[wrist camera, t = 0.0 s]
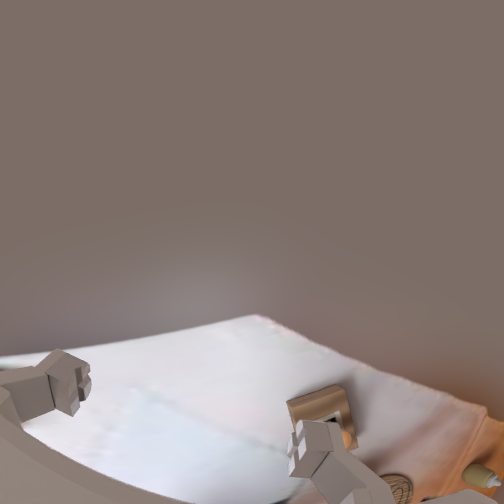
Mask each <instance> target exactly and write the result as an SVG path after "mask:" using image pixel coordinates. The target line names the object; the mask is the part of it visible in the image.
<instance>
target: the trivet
mask: <svg viewBox="0 0 504 504" xmlns="http://www.w3.org/2000/svg"><path fill="white" fill-rule="evenodd" d="M380 478H381V479H383V480H384V481H385V482H386V483H388V484H389V485H390V488H391V491H392V494H393V497H394V500H395V503H396V504H410V502H411V499H412V495H413V490H412V485H411V483H410V482H409V481H408V480H407V479H405V478H404V477H402V476H400V475H395V474H390V475H383V476H380Z"/></svg>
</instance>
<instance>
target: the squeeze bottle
mask: <svg viewBox="0 0 504 504" xmlns="http://www.w3.org/2000/svg"><path fill="white" fill-rule="evenodd" d="M462 478H463V479H464V481H465V482H466V484H470V485H473V486H477V487H480V488H486V487H488V488H491V487H493V486H501V484H502V483H501V482H500V481H499V480H498V476H497V475H495V472H494V471H492V470H490V469H489V468H487V467H485V466H483V465H481V464H471V465H469V466H468V467H467V468H466V469H465V470H464V472H463V474H462Z"/></svg>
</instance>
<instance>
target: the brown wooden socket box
mask: <svg viewBox="0 0 504 504" xmlns="http://www.w3.org/2000/svg"><path fill="white" fill-rule="evenodd" d="M286 403H287V406H288V410H289V413H290V417H291V420H292V423H293V427H294V430H295V431H296V424H297V423H298V421H299V420H309V421H320V422H323V421H326V420H330V421H331V422H336V423H338V424H339V426H340V429H342V430H345V431H347V432H348V433H349V434H350V435H351V437H352V441H351V444H350V446H349V447H348V448H347V449H346V451H347V452H349V451H351V450H354V449H356V448H358V443H357V439H356V434H355V430H354V426H353V421H352V417H351V413H350V409H349V405H348V401H347V397H346V393H345V389H344V388H342V387H340V386H338V385H335V384H334V385H332V386H329V387H326V388H324V389H321V390H318V391H316V392H313V393H310V394H307V395H305V396H302V397H299V398H296V399H293V400H290V401H287V402H286Z"/></svg>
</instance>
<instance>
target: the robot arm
mask: <svg viewBox="0 0 504 504" xmlns="http://www.w3.org/2000/svg"><path fill="white" fill-rule="evenodd" d="M89 372H90V365H89V364H88V363H87V362H85V361H83V360H81V359H79V358H77V357H75V356H72V355H70V354H68V353H66V352H64V351H62V350H60V349H55V350H54V351H53V352H51V353H50V354H49V355H48V356H47V357H46V358H45V359H43V360H42V361H41V362H40V363H39V364H38V365H37V366H36V367H33V366H29V367H24V368H18V369H13V370H7V371H1V372H0V504H194V503H189V502H185V501H181V500H177V499H174V498H170V497H166V496H163V495H160V494H156V493H153V492H150V491H147V490H144V489H141V488H138V487H135V486H132V485H130V484H127V483H124V482H122V481H119V480H117V479H114V478H112V477H109V476H107V475H104V474H102V473H100V472H98V471H95V470H93V469H91V468H89V467H87V466H85V465H83V464H81V463H79V462H77V461H75V460H73V459H71V458H69V457H67V456H65V455H63V454H61V453H60V452H58V451H56V450H54V449H53V448H51V447H49V446H47V445H46V444H44V443H42V442H41V441H39V440H38V439H36V438H34V437H33V436H31V435H30V434H28V433H27V432H25V431H24V429H23V427H22V424H21V423H22V422H25V421H27V420H30V419H33V418H35V417H38V416H40V415H43V414H45V413H47V412H50V411H52V410H55V408H56V409H58V410H60V411H62V412H64V413H66V414H68V415H70V416H72V417H73V416H74V414H75V413H76V412H77V410H78V409H79V408H80V403H79V402H81V401H84V400H86V398H87V397H88V396H89V393H90V390H91V379H90V377H89V376H88V373H89ZM287 455H288V456H289V457H290V458H291V460H290V461H289V463H288V469H289V477H299V478H311V479H310V480H311V481H312V482H313V484H314V485H315V486H316V487H317V489H318V490H319V491H320V493H321V494H322V495H323V496H324V498H325V499H326V500H327V501H328V502H329V504H396V503H395V500H394V497H393V494H392V491H391V488H390V485H389V484H388V483H386V482H385V481H384V480H383V479H381V478H380V477H379V476H378V475H376V474H375V473H374V472H373V471H372V470H370V469H369V468H368V467H367V466H366V465H365V464H363V463H362V462H361V461H360V460H359V459H357V458H356V457H355V456H354V455H353V454H352V453H351V452H347V451H346V447H345V444H344V440H343V437H342V433H341V430H340V426H339V424H338V423H336V422H320V421H309V420H299V421H298V423H297V424H296V431H295V432H294V433H292V434H291V436H290V438H289V442H288V446H287ZM417 504H498V503H497V502H496V501H494V500H492V499H490V498H488V497H487V496H485V495H483V494H481V493H479V492H477V491H474V490H472V489H465V490H461V491H458V492H456V493H453V494H450V495H446V496H443V497H440V498H436V499H433V500H429V501H425V502H421V503H417Z"/></svg>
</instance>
